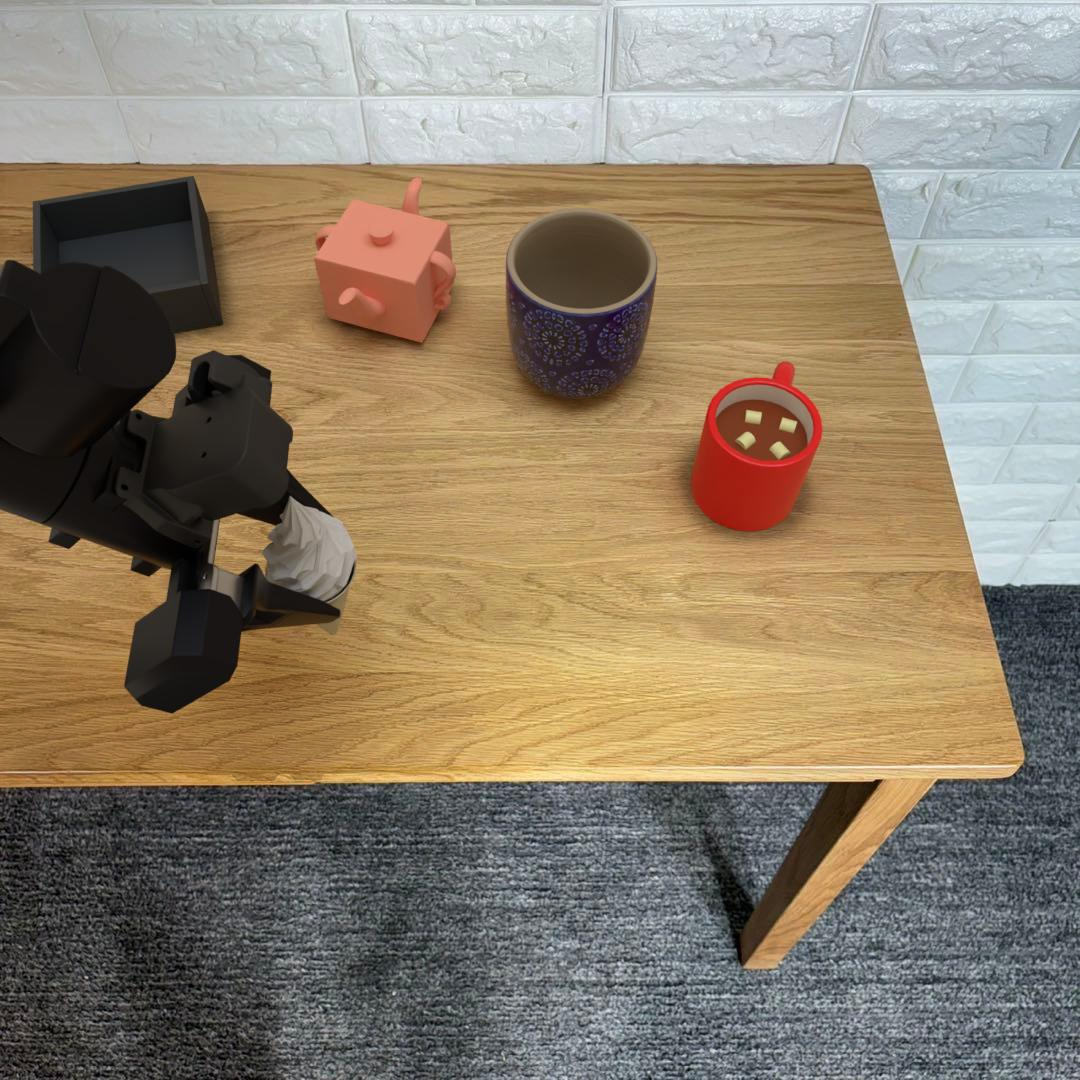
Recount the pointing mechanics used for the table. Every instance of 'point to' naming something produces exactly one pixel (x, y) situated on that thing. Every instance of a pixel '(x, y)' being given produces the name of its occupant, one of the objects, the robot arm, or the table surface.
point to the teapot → (386, 267)
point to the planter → (579, 300)
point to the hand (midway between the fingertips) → (338, 575)
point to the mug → (755, 451)
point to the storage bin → (138, 243)
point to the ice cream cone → (312, 557)
